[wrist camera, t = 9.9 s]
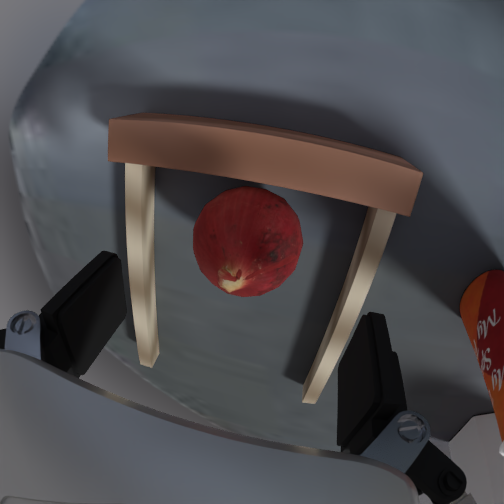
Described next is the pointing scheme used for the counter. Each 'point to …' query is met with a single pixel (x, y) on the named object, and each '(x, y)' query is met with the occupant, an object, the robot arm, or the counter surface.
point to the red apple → (247, 241)
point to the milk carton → (480, 458)
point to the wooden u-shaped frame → (268, 172)
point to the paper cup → (488, 335)
